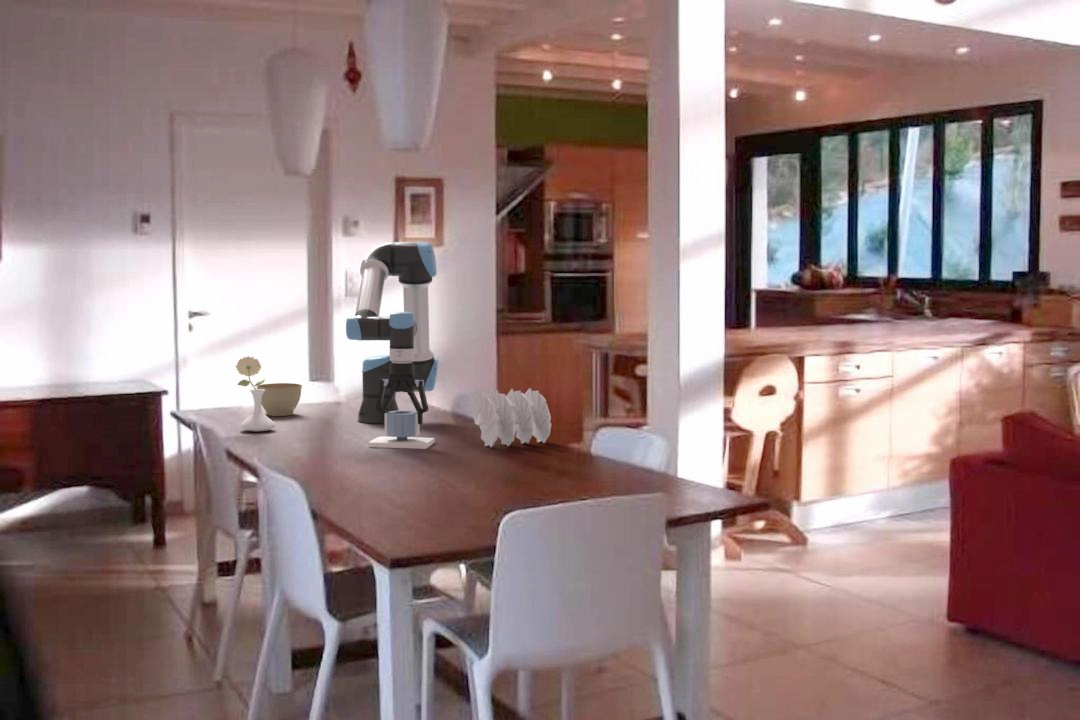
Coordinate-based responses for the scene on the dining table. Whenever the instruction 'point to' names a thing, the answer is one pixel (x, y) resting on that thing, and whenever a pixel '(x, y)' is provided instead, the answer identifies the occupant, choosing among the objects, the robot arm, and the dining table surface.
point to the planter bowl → (280, 398)
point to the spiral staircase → (511, 416)
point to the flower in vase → (257, 418)
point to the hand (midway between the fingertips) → (402, 434)
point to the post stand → (402, 442)
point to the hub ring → (401, 423)
